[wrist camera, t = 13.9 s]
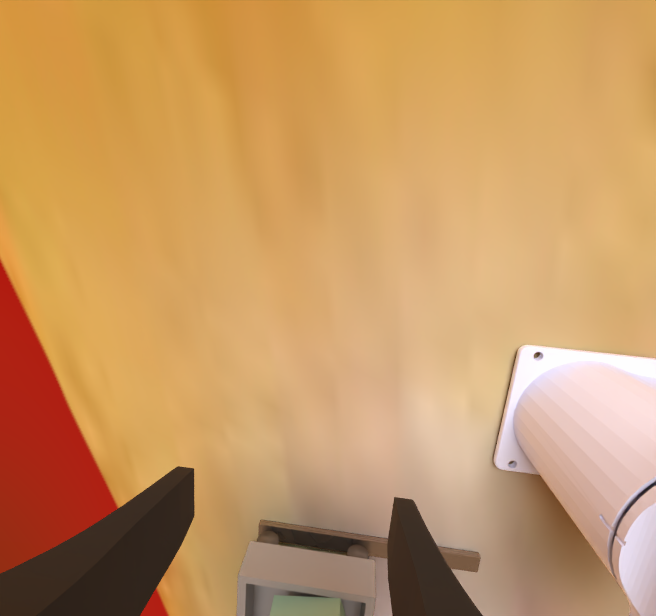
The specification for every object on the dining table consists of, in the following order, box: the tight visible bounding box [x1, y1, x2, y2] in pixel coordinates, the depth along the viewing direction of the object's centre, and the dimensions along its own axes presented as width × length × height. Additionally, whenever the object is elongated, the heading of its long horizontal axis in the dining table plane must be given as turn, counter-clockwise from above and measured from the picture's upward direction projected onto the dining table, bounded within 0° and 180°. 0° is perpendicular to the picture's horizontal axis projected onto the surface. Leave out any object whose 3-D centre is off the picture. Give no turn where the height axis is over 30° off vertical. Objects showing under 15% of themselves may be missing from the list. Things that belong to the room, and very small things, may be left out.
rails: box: [259, 520, 480, 572], centre depth 25 cm, size 15×10×1 cm
